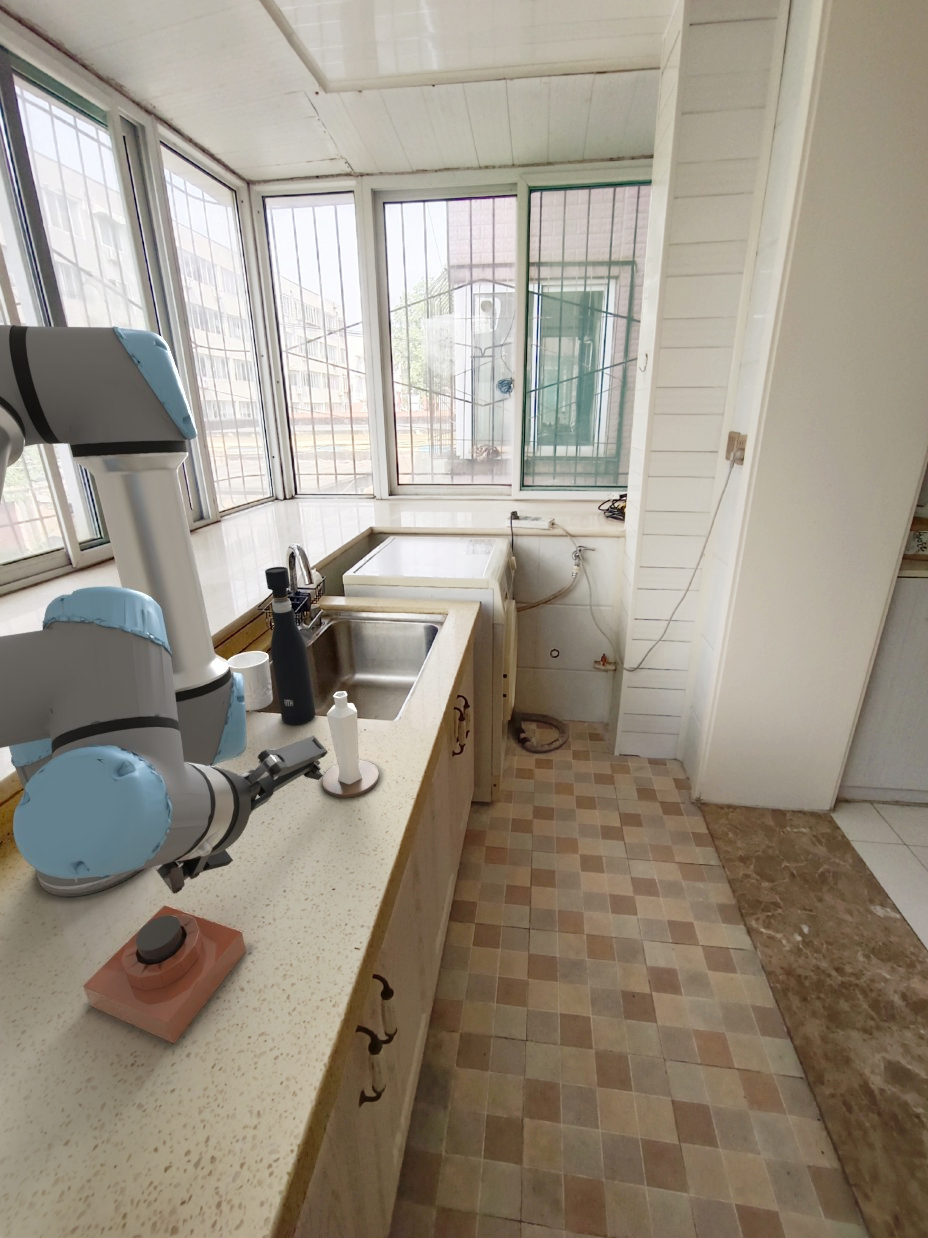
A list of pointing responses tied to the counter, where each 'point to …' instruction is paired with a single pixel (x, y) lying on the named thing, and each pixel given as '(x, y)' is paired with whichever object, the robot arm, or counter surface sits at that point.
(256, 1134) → the counter surface
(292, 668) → the black water bottle
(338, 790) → the coaster
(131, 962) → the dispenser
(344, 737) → the perfume bottle
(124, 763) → the robot arm
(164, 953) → the dark grey disc
